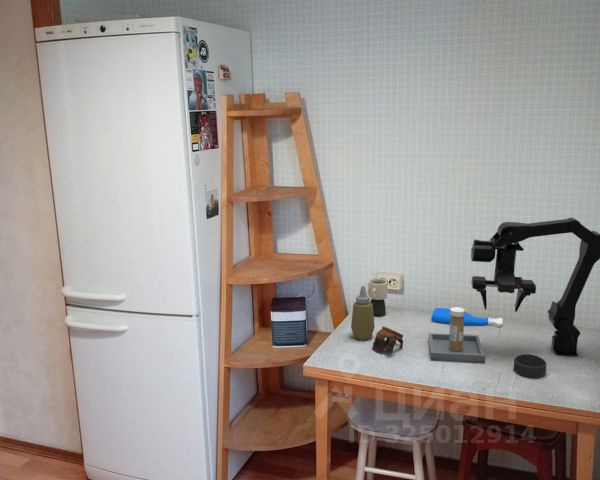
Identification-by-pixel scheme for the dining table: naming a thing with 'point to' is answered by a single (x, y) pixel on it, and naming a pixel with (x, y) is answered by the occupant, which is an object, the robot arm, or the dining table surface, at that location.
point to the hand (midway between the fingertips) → (500, 310)
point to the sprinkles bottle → (456, 328)
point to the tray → (468, 354)
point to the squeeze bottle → (362, 316)
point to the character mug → (378, 295)
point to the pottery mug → (386, 344)
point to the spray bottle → (444, 317)
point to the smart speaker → (530, 365)
